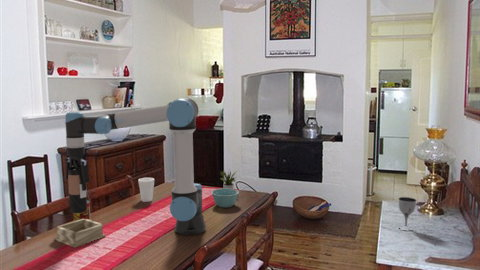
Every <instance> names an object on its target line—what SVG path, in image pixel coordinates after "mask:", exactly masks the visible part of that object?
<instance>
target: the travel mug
mask: <svg viewBox="0 0 480 270" xmlns="http://www.w3.org/2000/svg"><path fill="white" fill-rule="evenodd" d="M79 171H82V170H81V169H80V170H76V168H75V169H73V170H70V168H68V179H67V181H68V183H67V185H68V200H69V210H70V211H69V212H70V213H72V214H73V213H82V212H85V211H87V200H88V191H87V187H88V186H86V196H87V197H84V198H80V184H79V183H81V182H80V178H79Z"/></svg>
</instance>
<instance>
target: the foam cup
mask: <svg viewBox="0 0 480 270" xmlns="http://www.w3.org/2000/svg"><path fill="white" fill-rule="evenodd" d="M137 182H138V183H137V184H138V187H139V193H140V199H141V202H142V203H143V202H144V203H145V202H148V203H149V202H152V201H153V198H154V197H153V196H154V189H155V188H154V187H155V178H153V177H142V178H138V181H137Z"/></svg>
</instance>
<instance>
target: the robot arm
mask: <svg viewBox="0 0 480 270" xmlns="http://www.w3.org/2000/svg"><path fill="white" fill-rule="evenodd" d="M198 115H199V106H198V104H197V102H196V101H195V100H194V99H192V98H189V97H182V98H176V99H174V100H173V101H169V102H168V103H167V104H165V105H158V106H153V107H152V106H151V107H146V108H139V109H131V110H128V111H127V110H126V111H119V112H115V113H106V114H104V115H98V116H84V113H83V112H81V111H79V112H78V111H71V112H67V113H66V114H65V119H64V120H65V136H66V137H65V140H66V144H65V145H66V155H67V156H68V157H66V158H64V159H65V160H64V161H65V176H64V177H65V179H66V180H68V168H70V170H73V169H75V168H76V170H80V169H81V170H82V171H79V178H80V182H81V183H79V184H80V198H84V197H87V198H88V195H87V196H86V187H87V184H88V183H90V176H89V168H88V163H89V162H88V160H87V159H86V160H85V159H84V156H85V154H86V151H85V150H86V149H85V135H86V134H92V135H95V134H96V135H106V134H107V135H108V134H109V133H111V131H113V130H118V129H125V128H130V127H132V128H133V127H138V126H144V125H150V124H157V123H164V122H168V129H169V131H170V132H172V136H173V137H172V139H173V141H172V142H173V146H172V147H173V167H174V169H173V174H174V186H173V187H172V189H171V191H170V192H171V202H170V204H169V213H170V215H171V217H173V218H174V219H175V224H174V232H175V233H176V234H178V235H182V236H196V235H200V234H203V233H205V232H206V231H207V224H206V222H205V218H204V215H203V186H202V184H201V183H195V172H194V170H195V169H194V139H193V136H194V135H193V133H194V132H195V131H196V129H197V124H196V121H197V120H196V119H197V117H198Z"/></svg>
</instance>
